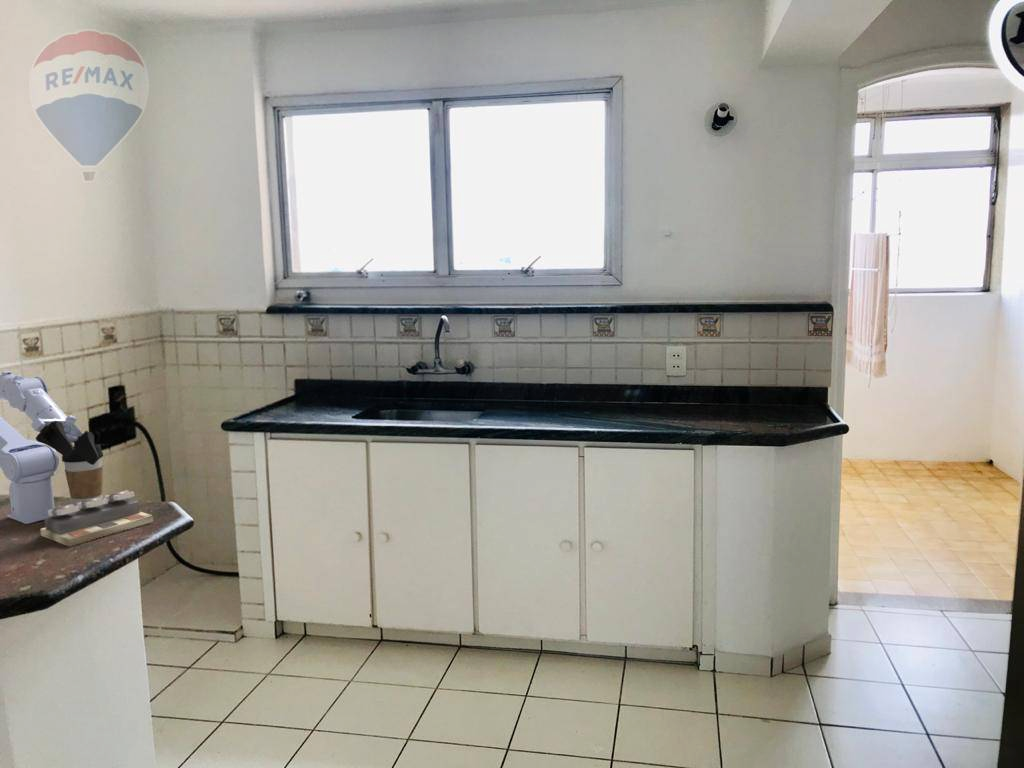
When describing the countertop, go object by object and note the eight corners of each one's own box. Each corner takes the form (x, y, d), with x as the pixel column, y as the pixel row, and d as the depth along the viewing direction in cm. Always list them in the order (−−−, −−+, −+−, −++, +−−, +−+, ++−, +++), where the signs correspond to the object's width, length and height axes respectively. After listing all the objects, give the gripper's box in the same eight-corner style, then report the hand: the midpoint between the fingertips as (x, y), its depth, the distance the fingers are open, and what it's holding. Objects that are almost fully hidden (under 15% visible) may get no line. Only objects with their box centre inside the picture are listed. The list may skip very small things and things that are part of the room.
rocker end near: (48, 517, 171) (46, 508, 171) (66, 512, 174) (65, 504, 174) (61, 517, 168) (60, 508, 168) (80, 512, 171) (78, 503, 171)
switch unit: (41, 535, 172) (38, 517, 171) (124, 512, 186) (122, 495, 186) (69, 546, 165) (67, 527, 164) (153, 522, 179) (151, 504, 179)
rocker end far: (104, 502, 181) (103, 494, 181) (121, 498, 184) (120, 490, 184) (118, 502, 177) (117, 494, 177) (135, 497, 180) (133, 489, 180)
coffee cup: (91, 516, 184) (84, 451, 182) (59, 515, 186) (51, 450, 183) (116, 505, 192) (110, 442, 190) (85, 503, 194) (78, 441, 191)
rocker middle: (77, 509, 176) (75, 501, 176) (94, 505, 179) (93, 496, 179) (90, 509, 173) (89, 501, 172) (108, 504, 176) (107, 496, 175)
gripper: (36, 393, 170) (72, 434, 165) (85, 412, 183) (119, 450, 178) (12, 419, 169) (47, 460, 164) (62, 436, 183) (96, 475, 178)
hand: (83, 457), depth 171 cm, fingers open, 7 cm apart
